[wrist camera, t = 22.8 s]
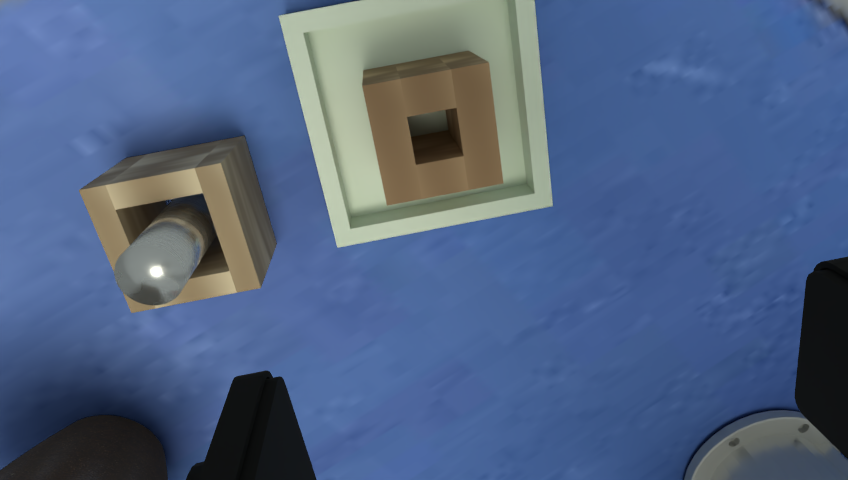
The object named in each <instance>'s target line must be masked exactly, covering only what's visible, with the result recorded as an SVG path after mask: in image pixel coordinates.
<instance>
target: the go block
mask: <svg viewBox="0 0 848 480" xmlns="http://www.w3.org/2000/svg"><path fill="white" fill-rule="evenodd" d="M79 192H80V194H81V196H82V199H83V201H84V203H85V206H86V208H87V210H88V213H89V215H90V217H91V220H92V222H93V224H94V227H95V229H96V231H97V234H98V236H99V238H100V241H101V243H102V245H103V248H104V250H105V252H106V255H107V257H108V259H109V261H110V264H111V266H112V268H113V271H114V269H115V264H116V261H117V259H118V258H119V256H120V255H121V254H122V253H123V252H124V251H125V250H126V249H127V248H128V247H129V246H130V245H131V244H132V243H133V242H134V241H135V239H136V238H137V237H138V236H139V235H140V234H141V233H142V232H143V231H144V230H145V229H146V228H147V227H148V226H149V225H150V224H151V222H152V221H153V220H154V219H155V218H156V217H157V216H158V215H159V214H160V213H161V212H162V211H163V210H164V209H165V208H166V207H167V205H166V202H165V200H169V199H174V198H180V197H185V196H190V195H195V194H201V193H203V195H204V197H205V200H206V203H207V206H208V209H209V212H210V215H211V218H212V221H213V224H214V227H215V230H216V233H217V236H216V237H215V238H214V240H213V241H212V243H211V245H210V246H209V248H208V249H207V251H206V253H205V254H204V256H203V257H202V259H201V261H200V262H199V264H198V265H197V267H196V269H195V270H194V272H193V273H192V275H191V277H190V278H189V280H188V281H187V283H186V285H185V286H184V288H183V289H182V291H181V293H180V294H179V295H178V296H177V297H176V298H175V299H174V300H172V301H170V302H168V303H166V304H162V305H145V304H141V303H138V302H136V301H134V300H132V299H131V298H129V297H128V296H127V295H125V294H124V293H123V294H124V296H125V299H126V301H127V303H128V306H129V308H130V310H131V313H134V312H139V311H144V310H149V309H155V308H160V307H165V306H170V305H175V304H180V303H186V302H191V301H196V300H201V299H206V298H211V297H217V296H222V295H227V294H232V293H237V292H242V291H247V290H253V289H258V288H261V286H262V283H263V281H264V278H265V275H266V272H267V270H268V267H269V264H270V261H271V259H272V256H273V253H274V250H275V247H276V245H277V243H276V239H275V236H274V233H273V229H272V226H271V223H270V219H269V216H268V213H267V209H266V206H265V203H264V199H263V196H262V193H261V189H260V186H259V182H258V179H257V176H256V172H255V169H254V166H253V162H252V159H251V156H250V152H249V149H248V146H247V142H246V139H245V136H240V137H235V138H229V139H224V140H219V141H214V142H208V143H203V144H198V145H193V146H187V147H182V148H177V149H172V150H166V151H161V152H156V153H151V154H145V155H140V156H135V157H130V158H125V159H124V160H122V161H121V162H119V163H118V164H116V165H115V166H114V167H112V168H111V169H109V170H108V171H106V172H105V173H103V174H102V175H100V176H99V177H97V178H96V179H95V180H93V181H92V182H90V183H89V184H87V185H86V186H84V187H83V188H81V189H80V190H79Z"/></svg>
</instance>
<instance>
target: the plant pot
mask: <svg viewBox="0 0 848 480" xmlns="http://www.w3.org/2000/svg"><path fill="white" fill-rule="evenodd" d="M0 480H168V477H167V467H166V458H165V453H164V449H163V447H162V445H161V443H160V441H159V440H158V439H157V437H156V436H155V435H154V434H153V433H152V432H151V431H150V430H149V429H147V428H146V427H144V426H143V425H141V424H139V423H137V422H135V421H133V420H130V419H127V418H123V417H119V416H112V415H98V416H91V417H87V418H84V419H81V420H78V421H76V422H74V423H73V424H71V425H69V426H67V427H66V428H64V429H62V430H61V431H59V432H57V433H56V434H54V435H52V436H50V437H49V438H47V439H46V440H44V441H43V442H41V443H39V444H38V445H36V446H35V447H33V448H32V449H30V450H29V451H27V452H26V453H24V454H23V455H21V456H20V457H18V458H17V459H16V460H14V461H13V462H11V463H10V464H8V465H7V466H6V467H4V468H3V469H2V470H0Z"/></svg>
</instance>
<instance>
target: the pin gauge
mask: <svg viewBox="0 0 848 480" xmlns="http://www.w3.org/2000/svg"><path fill="white" fill-rule="evenodd" d="M216 235H217V233H216V230H215V227H214V224H213V221H212V218H211V215H210V212H209V209H208V206H207V203H206V200H205V197H204V195H203V193H201V194H195V195H190V196H185V197H180V198H174V199H173V200H172V201H171V202H170V203H169V204H168V205H167V207H166V208H165V209H164V210H163V211H162V212H161V213H160V214H159V215H158V216H157V217H156V218H155V219H154V220H153V221H152V222H151V224H150V225H149V226H148V227H147V228H146V229H145V230H144V231H143V232H142V233H141V234H140V235H139V236H138V237H137V238H136V239H135V241H134V242H133V243H132V244H131V245H130V246H129V247H128V248H127V249H126V250H125V251H124V252H123V253H122V254H121V255H120V256H119V258H118V259H117V261H116V264H115V269H114V275H115V279H116V282H117V284H118V286H119V288H120V289H121V290H122V292H123V293H124V294H125V295H127V296H128V297H129V298H131V299H132V300H134V301H136V302H138V303H141V304H145V305H162V304H166V303H168V302H170V301H172V300H174V299H175V298H176V297H177V296H178V295H179V294H180V293H181V291H182V289H183V288H184V286H185V285H186V283H187V281H188V280H189V278H190V277H191V275H192V273H193V272H194V270H195V269H196V267H197V265H198V264H199V262H200V261H201V259H202V257H203V256H204V254H205V253H206V251H207V249H208V248H209V246H210V245H211V243H212V241H213V240H214V238H215V237H216Z"/></svg>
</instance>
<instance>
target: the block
mask: <svg viewBox="0 0 848 480" xmlns="http://www.w3.org/2000/svg"><path fill="white" fill-rule="evenodd" d="M362 88H363V92H364V97H365V102H366V107H367V112H368V117H369V121H370V126H371V131H372V136H373V141H374V146H375V150H376V155H377V160H378V165H379V170H380V175H381V179H382V184H383V189H384V194H385V199H386V204H387V206H388V205H393V204H399V203H404V202H409V201H414V200H420V199H425V198H430V197H435V196H441V195H446V194H451V193H456V192H462V191H467V190H472V189H478V188H483V187H488V186H493V185H499V184H504V183H503V175H502V167H501V158H500V150H499V142H498V133H497V125H496V117H495V108H494V100H493V92H492V83H491V75H490V67H489V62H488V61H486V60H484V59H482V58H481V57H479V56H477V55H476V54H474V53H472V52H470V51H464V52H458V53H453V54H447V55H442V56H437V57H431V58H426V59H421V60H415V61H410V62H405V63H399V64H394V65H388V66H383V67H378V68H372V69H367V70H363V80H362ZM442 110H445V111H446V118H447V124H448V130H445V131H440V132H435V133H429V134H424V135H419V136H413V137H411V135H410V130H409V124H408V119H407V117H410V116H415V115H421V114H426V113H431V112H437V111H442Z"/></svg>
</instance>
